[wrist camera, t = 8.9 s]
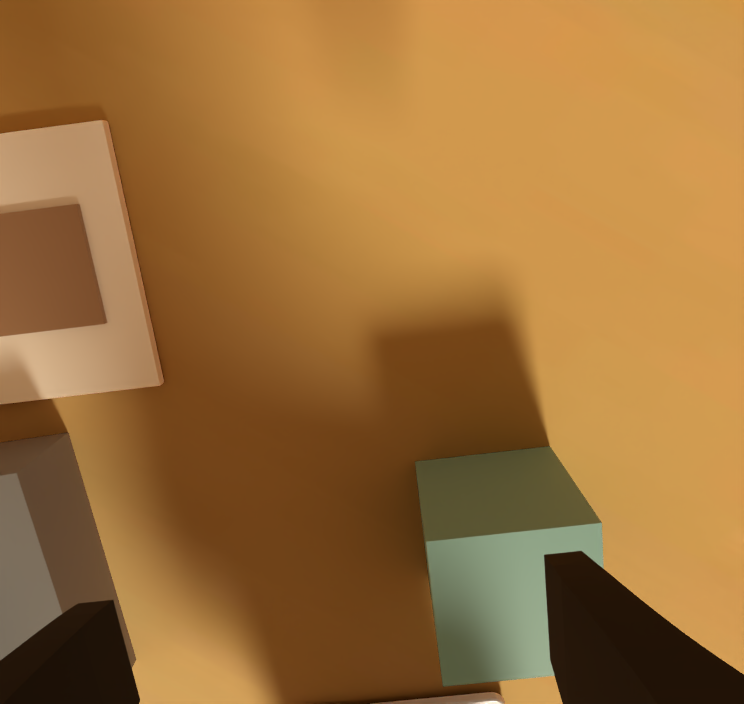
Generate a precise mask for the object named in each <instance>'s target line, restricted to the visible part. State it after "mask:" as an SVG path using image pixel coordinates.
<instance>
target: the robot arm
mask: <svg viewBox="0 0 744 704" xmlns="http://www.w3.org/2000/svg"><path fill="white" fill-rule="evenodd" d="M544 566H545V582H546V599H547V616H548V633H549V650H550V661H551V664H552V668H553V671H554V675H555V678H556V682H557V685H558V689H559V692H560V696H561V699H562V702H563V704H744V675H743V674H742V673H740V672H739V671H737V670H736V669H734V668H733V667H732V666H730V665H729V664H727V663H726V662H724V661H723V660H721V659H720V658H718V657H717V656H716V655H714V654H713V653H711V652H710V651H708V650H707V649H705V648H704V647H702V646H701V645H700V644H698V643H697V642H695V641H694V640H693V639H691V638H690V637H689V636H687V635H686V634H685V633H683V632H682V631H680V630H679V629H678V628H676V627H675V626H674V625H673V624H671V623H670V622H669V621H667V620H666V619H665V618H663V617H662V616H661V615H660V614H658V613H657V612H656V611H654V610H653V609H652V608H651V607H649V606H648V605H647V604H646V603H644V602H643V601H642V600H641V599H639V598H638V597H637V596H636V595H634V594H633V593H632V592H631V591H630V590H628V589H627V588H626V587H625V586H623V585H622V584H621V583H620V582H619V581H617V580H616V579H615V578H614V577H613V576H611V575H610V574H609V573H608V572H607V571H605V570H604V569H603V568H602V567H601V566H599V565H598V564H597V563H596V562H595V561H593V560H592V559H591V558H590V557H588V556H587V555H586V554H585V553H584V552H582V551H574V552H565V553H555V554H545V555H544ZM139 702H140V698H139V694H138V690H137V687H136V683H135V679H134V675H133V672H132V668H131V664H130V660H129V657H128V653H127V649H126V645H125V642H124V638H123V634H122V631H121V627H120V623H119V619H118V616H117V612H116V608H115V604H114V601H113V600H105V601H96V602H86V603H78V604H76V605H75V606H73V607H72V608H70V609H69V610H67V611H66V612H64V613H63V614H61V615H60V616H58V617H57V618H56V619H54V620H53V621H52V622H50V623H49V624H47V625H46V626H45V627H43V628H42V629H41V630H39V631H38V632H37V633H35V634H34V635H33V636H32V637H30V638H29V639H28V640H26V641H25V642H24V643H22V644H21V645H20V646H18V647H17V648H16V649H15V650H13V651H12V652H11V653H9V654H8V655H7V656H5V657H4V658H3V659H2V660H0V704H139ZM372 704H505V702H504V699H503V697H502V696H501V695H500V694H498V693H495V692H486V693H475V694H465V695H455V696H444V697H434V698H424V699H413V700H403V701H392V702H382V703H372Z"/></svg>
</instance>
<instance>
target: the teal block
mask: <svg viewBox="0 0 744 704" xmlns="http://www.w3.org/2000/svg"><path fill="white" fill-rule="evenodd" d="M415 467H416V476H417V484H418V493H419V501H420V510H421V518H422V527H423V535H424V544H425V552H426V561H427V569H428V578H429V585H430V593H431V600H432V608H433V616H434V623H435V631H436V638H437V646H438V653H439V661H440V669H441V676H442V684H443V687H444V686H455V685H465V684H475V683H485V682H495V681H505V680H516V679H526V678H536V677H546V676H555V675H554V671H553V668H552V664H551V661H550V650H549V633H548V616H547V599H546V582H545V566H544V555H545V554H555V553H565V552H574V551H582V552H584V553H585V554H586V555H587V556H588V557H590V558H591V559H592V560H593V561H595V562H596V563H597V564H598V565H599V566H601V567H602V568H603V542H602V522H601V521H600V520H599V518H598V517H597V515H596V514H595V512H594V511H593V509H592V508H591V506H590V505H589V503H588V502H587V500H586V499H585V497H584V496H583V494H582V493H581V491H580V490H579V488H578V487H577V486H576V484H575V483H574V481H573V480H572V478H571V477H570V475H569V474H568V472H567V471H566V469H565V468H564V466H563V465H562V463H561V462H560V460H559V459H558V457H557V456H556V454H555V453H554V452H553V450H552V449H551V447H550V446H547V447H538V448H530V449H521V450H512V451H503V452H494V453H485V454H477V455H468V456H459V457H450V458H441V459H432V460H424V461H415ZM603 569H604V568H603Z"/></svg>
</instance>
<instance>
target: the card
mask: <svg viewBox="0 0 744 704" xmlns="http://www.w3.org/2000/svg"><path fill="white" fill-rule="evenodd" d="M162 383H164V379H163V374H162V369H161V365H160V360H159V356H158V351H157V346H156V342H155V337H154V332H153V328H152V323H151V318H150V314H149V309H148V305H147V300H146V295H145V291H144V286H143V281H142V277H141V272H140V267H139V263H138V258H137V254H136V249H135V244H134V240H133V235H132V230H131V226H130V221H129V217H128V212H127V207H126V203H125V198H124V193H123V189H122V184H121V179H120V175H119V170H118V166H117V161H116V156H115V152H114V147H113V142H112V138H111V133H110V128H109V124H108V121H105V120H98V121H90V122H83V123H75V124H68V125H60V126H53V127H45V128H38V129H30V130H23V131H16V132H8V133H1V134H0V404H8V403H17V402H25V401H34V400H42V399H51V398H59V397H68V396H76V395H85V394H93V393H102V392H110V391H119V390H127V389H136V388H144V387H153V386H160V385H161V384H162Z"/></svg>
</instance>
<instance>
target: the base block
mask: <svg viewBox="0 0 744 704" xmlns="http://www.w3.org/2000/svg"><path fill="white" fill-rule="evenodd" d="M105 600H113V601H114V604H115V608H116V612H117V616H118V619H119V623H120V627H121V631H122V634H123V638H124V642H125V645H126V649H127V653H128V657H129V660H130V664H131V668H132V667H133V665H134V663H135V661H136V657H135V654H134V650H133V647H132V644H131V640H130V637H129V634H128V630H127V627H126V624H125V620H124V617H123V614H122V610H121V607H120V604H119V600H118V597H117V594H116V590H115V587H114V583H113V580H112V577H111V573H110V570H109V567H108V563H107V560H106V557H105V553H104V550H103V547H102V543H101V540H100V537H99V533H98V530H97V527H96V523H95V520H94V517H93V513H92V510H91V507H90V503H89V500H88V496H87V493H86V490H85V486H84V483H83V480H82V476H81V473H80V470H79V466H78V463H77V460H76V456H75V453H74V450H73V446H72V443H71V440H70V436H69V433H61V434H55V435H48V436H41V437H35V438H28V439H21V440H15V441H8V442H1V443H0V660H2V659H3V658H4V657H5V656H7V655H8V654H9V653H11V652H12V651H13V650H15V649H16V648H17V647H18V646H20V645H21V644H22V643H24V642H25V641H26V640H28V639H29V638H30V637H32V636H33V635H34V634H35V633H37V632H38V631H39V630H41V629H42V628H43V627H45V626H46V625H47V624H49V623H50V622H52V621H53V620H54V619H56V618H57V617H58V616H60V615H61V614H63V613H64V612H66V611H67V610H69V609H70V608H72V607H73V606H75V605H76V604H78V603H86V602H96V601H105Z"/></svg>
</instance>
